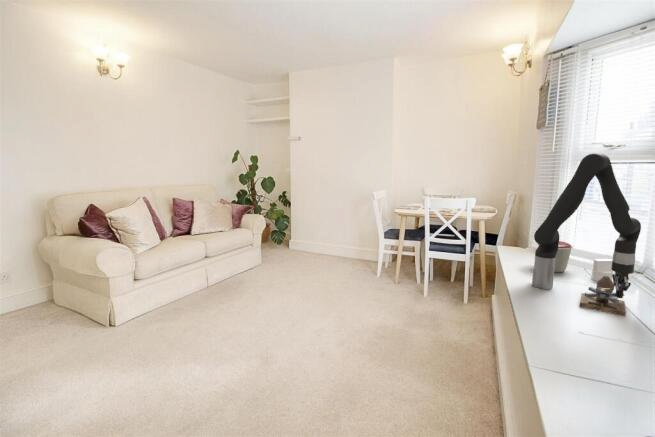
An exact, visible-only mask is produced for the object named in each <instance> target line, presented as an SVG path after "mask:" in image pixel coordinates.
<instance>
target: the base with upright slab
mask: <svg viewBox="0 0 655 437" xmlns="http://www.w3.org/2000/svg"><path fill="white" fill-rule="evenodd" d="M611 268H612V259H611V258H594V259H593V264H592V270H591V271H592V272H591V280H592V281H595V282H596V283H597V282H598V281H599V280H600V279H601V278H602V277H603V276H608V277H610V279H611V281H612V282H613V277H612V274H614V271H612V269H611Z"/></svg>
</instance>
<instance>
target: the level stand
mask: <svg viewBox="0 0 655 437" xmlns="http://www.w3.org/2000/svg"><path fill="white" fill-rule="evenodd" d="M618 300H619V303H614V302H612V301H610V300H609V301H608V303H601V302H598V301H596V297H586V296H585V292H584V293H583V292H582V293H581V295H580V299H579V307H580V308H585V309H590V310H594V309H596V311H599V310H601V311H600V312H604V311H605V312H604V313H609V312H610V313H609V314H613V313H614V315H618V316H624V317H626V313H627V311H626V310H627V309H626V303H625V302H626V301H625V300H622V299H621V300H620V299H618Z"/></svg>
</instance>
